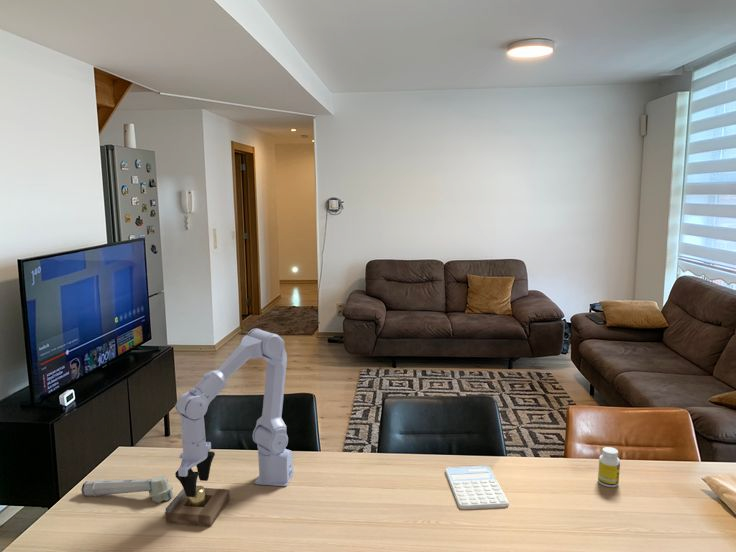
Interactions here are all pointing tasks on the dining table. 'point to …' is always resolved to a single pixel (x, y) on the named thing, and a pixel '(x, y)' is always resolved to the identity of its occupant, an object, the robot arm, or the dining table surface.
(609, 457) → the supplement bottle
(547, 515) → the dining table surface
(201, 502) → the tan cylinder
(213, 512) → the jig
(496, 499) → the calculator
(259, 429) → the robot arm
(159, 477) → the grey long knobbed part
